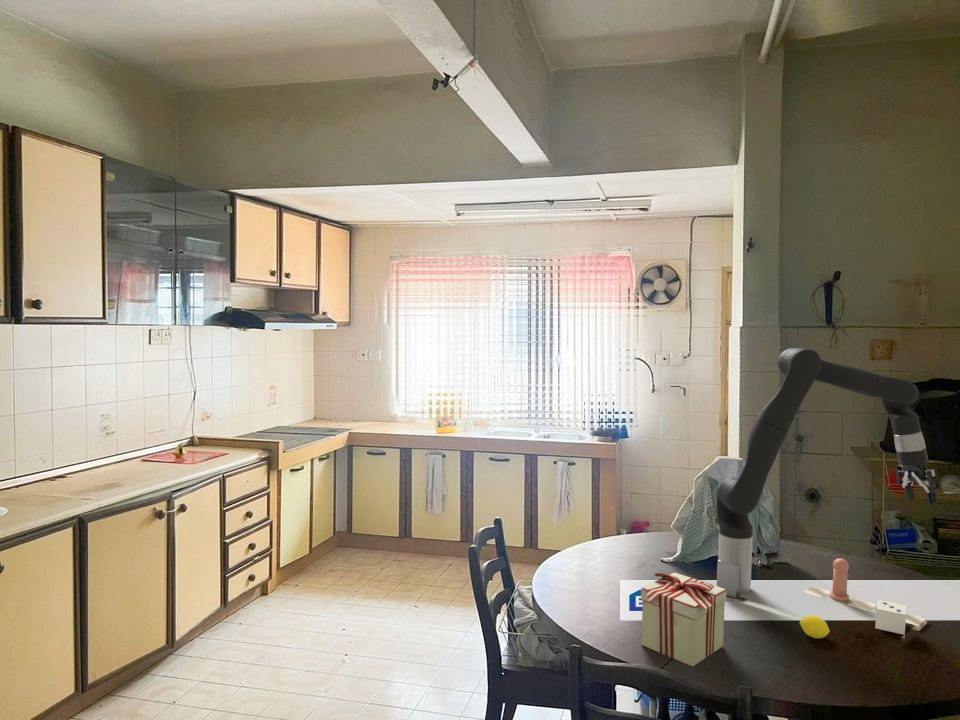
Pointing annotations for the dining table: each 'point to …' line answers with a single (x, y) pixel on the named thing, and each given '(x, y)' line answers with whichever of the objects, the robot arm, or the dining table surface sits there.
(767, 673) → the dining table surface
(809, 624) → the lemon
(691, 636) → the gift box
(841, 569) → the pawn
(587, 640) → the dining table surface
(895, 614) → the die
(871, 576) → the dining table surface
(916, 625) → the board
